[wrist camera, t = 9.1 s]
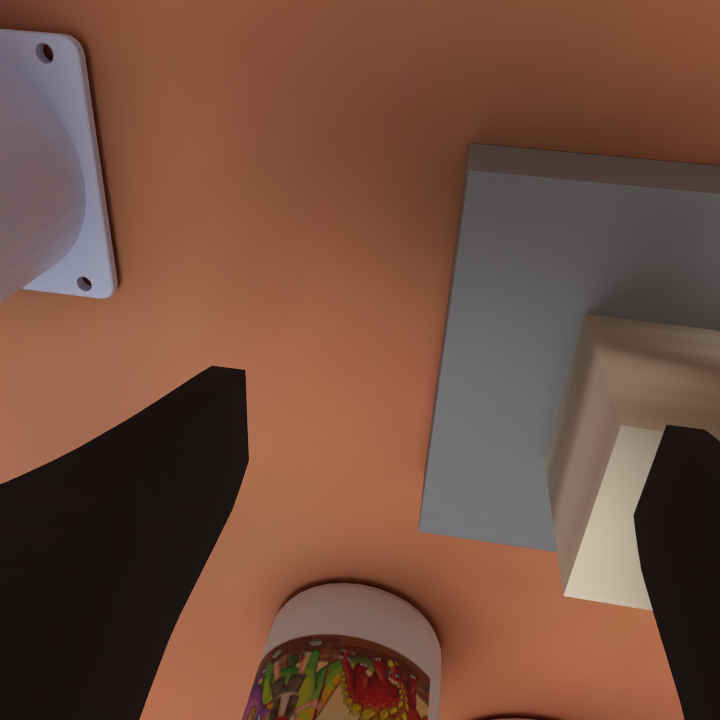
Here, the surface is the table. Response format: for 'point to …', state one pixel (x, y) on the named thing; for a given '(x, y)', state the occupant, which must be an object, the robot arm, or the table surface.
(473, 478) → the grey base
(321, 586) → the milk bottle
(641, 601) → the maple cube
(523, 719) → the fruit juice
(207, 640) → the table surface
